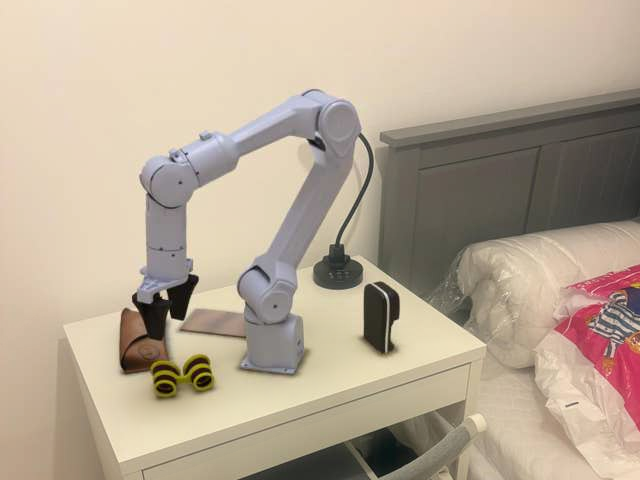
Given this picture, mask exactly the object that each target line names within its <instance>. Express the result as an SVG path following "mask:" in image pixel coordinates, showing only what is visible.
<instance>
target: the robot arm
mask: <svg viewBox="0 0 640 480" xmlns="http://www.w3.org/2000/svg"><path fill="white" fill-rule="evenodd" d="M360 121H361V120H360V118H359V113H358V111H357V109H356V107H355V106H354V104H353V103H352V102H351V101H349V100H348V99H345V98H340V97H336V96H334V95H331V94H330V93H326V92H325V91H323V90H321V89H319V88H307V89H306V90H304V91H302V92H301V93H300V94H295V95H291V96H289V97H288V98H287V99H285V101H283V102H282V103H280V104H278V105H277V106H276V107H274V108H272V109H269V111H267V112H265V113H263V114H262V115H259V116H258V117H256V118H255V119H253V120H251V121H249V122H248V123H246V124H244V125H242V126H241V127H239V128H237V129H235V130H234V131H232V132H231V133H229V134H225V133H223V132H221V131H217V130H214V131H212V132H210V131H208V130H207V129H206V130H204V131H202V132H199V134H198V136H199V139H198V138H197V139H196V140H194V141H192V142H190V143H188V144H186V145H184V146H183V147H181V148H178V149H177V148H176V147H173V148H171V149H169V150H168V153H169V156H168V155H161V154H160V155H155V156H152V157H151V158H149V159H148V160H146V162H145V165H143V166H142V168H141V173H139V174H138V178H139V182H140V184H141V187H142V188H143V189H144V190H145V192H146V193H145V213H144V214H145V215H144V216H145V217H144V218H145V249H146V250H145V253H146V255H145V256H146V257H145V258H146V265H144V266H142V267H141V268H140V269H139V274H140V275H142V276H143V278H142V281H141V283H140V286H139V287H137V288H136V292H135V293H133V294H132V295H131V303H132V304H133V305H134V306H135V308H136V309H137V312H139V313H140V315H141V317H142V319H143V322H144V325H145V328H146V331H147V334H148V337H149V339H153V340H158V341H161V340H163V337H164V333H165V334H166V325H167V318H168V314H169V316H170V319H172V320H177V321H180V322H184V321H185V319H186V316H187V312H188V309H189V306H190V301H191V298H192V295H193V293H194V290H195V288H196V287H197V285H198V283H200V276H199V275H197V274H192V272H193V271H194V259H193V258H189V257H187V255H188V251H187V250H188V214H187V204H188V203H189V201H190V200H191V199H192V196H193V194H194V192H195V191H197V190H199V189H201V188H203V187H205V186H207V185H209V184H211V183H213V182H214V181H216V180H219V179H220V178H222V177H224V176H226V175H229V174H230V173H232V172H234V171H235V170H236V169H237V166H238V163H239V161H240V158H242V157H244V156H247V155H249V154H251V153H253V152H255V151H257V150H260V149H263V148H264V147H266V146H269V145H271V144H274V143H276V142H278V141H280V140H283V139H285V138H287V137H291V136H292V137H296V138H301V139H306V141H307V143H308V146H309V150H310V152H311V156H312V159H313V164H312V167H311V169H310V170H309V173H308V174H307V176H306V177H305V180H304V182H303V184H302V185H301V187H300V189H299V191H298V192H297V195H296V196H295V198H294V200H293V202H292V204H291V206H290V208H289V210H288V211H287V213H286V216H285V217H284V219H283V221H282V223H281V225H280V227H279V228H278V230H277V232H276V234H275V236H274V238H273V240H272V241H271V243H270V245H269V247H268V249H267V251H266V252H264V253H262V254H259V255H258V256H256V257H254V259H253V261H252V263H251V264H250V265H249V266H248V268H246V269H245V270H243V272H242V273H240V274H239V276H238V278H237V281H236V291H237V294H238V296H239V297H240V298H241V299H242V300H243V301H244V308H243V314H244V321H245V331H246V338H245V339H246V340H245V341H246V349H247V354H246V355H245V357H244V359H243V360H242V361H241V363H240V365H239V366H240V368H241V369H244V370H251V371H253V370H254V371H259V372H260V371H261V372H269V373H278V374H285V375H294V374H295V372H296V370H297V368H298V366H299V365H300V363H301V361H302V359H303V356H305V353H306V348H305V336H304V321H303V317H302V316H300V315H299V314H294V313H292V312H291V311H292V308H293V304H294V303H293V302H294V296H295V294H296V291H297V290H298V287H299V286H298V285H299V284H298V275H297V269H298V267H299V266H300V264H301V262H302V260H303V258H304V256H305V255H306V253H307V251H308V249H309V247H310V245H311V244H312V242H313V240H314V238H315V237H316V235H317V233H318V232H319V229H320V228H321V226H322V224H323V222H324V220H325V219H326V216H327V215H328V213H329V211H330V209H331V208H332V206H333V204H334V203H335V201H336V199H337V198H338V196H339V193H340V192H341V189H342V188H343V186H344V184H345V182H346V180H347V179H348V177H349V175H350V173H351V171H352V169H353V163H354V156H355V149H356V148H355V147H356V141H357V139H358V138H359V136H360V135H361V132H362V131H363V130H362V129H363V128H362V125H361V122H360ZM163 291H166V296H167V299H165V298H163V296H162V295H161V293H162V292H163Z"/></svg>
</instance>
